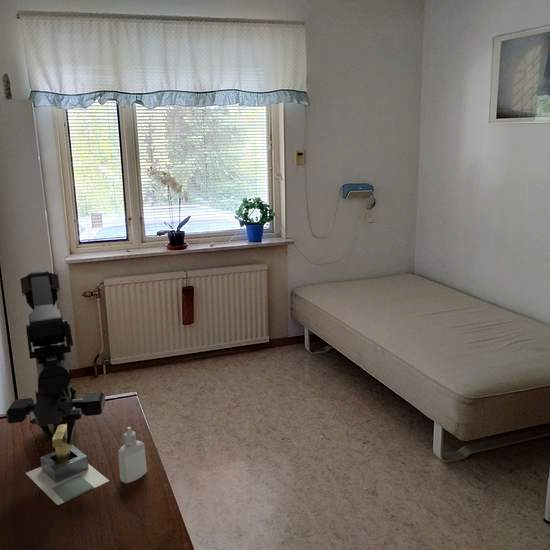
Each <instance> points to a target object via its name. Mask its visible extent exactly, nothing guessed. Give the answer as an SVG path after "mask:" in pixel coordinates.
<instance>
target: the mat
mask: <svg viewBox="0 0 550 550" xmlns="http://www.w3.org/2000/svg"><path fill="white" fill-rule="evenodd" d="M93 488H94V487H93V486H92V485H91V484H90V483H89V482H87V481H86V480H85V479H84V478H83V477H82V476H77V477H75V478H73V479H71V480H68V481H66V482H64V483H62V484H59V485H57V486H55V487H53V488H52V489H53V490H54V491H55V492H56V493H57V494H58V495H59V496H60V497H61V498H62V499H63V500H64V501H66V502H68V501H70V500H72V499H74V498H76V496H77V497H79V496H81V495H83V494H86V493H88V492H90V491H91V490H94V489H95V488H94V489H93ZM82 493H83V494H82ZM80 494H81V495H80ZM78 495H79V496H78Z"/></svg>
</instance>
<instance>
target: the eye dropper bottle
mask: <svg viewBox="0 0 550 550" xmlns="http://www.w3.org/2000/svg"><path fill="white" fill-rule="evenodd" d="M123 442H124V444H122V445H121V447H120V448H119V449H118V452H117V459H118V460H117V461H118V471H119V480H120V481H121V482H122V483H124V484H129V483H131V482H134V481H137V480H139V479H140V478H142V477H143V476H144V475H146V473H148V469H147V468H148V467H147V457H146V449H145V443H144V442H143V441H141V440H138V439H137V432H136V431H135V430H132V427H131V426H128V427H127V429H126V431H125V433H123Z"/></svg>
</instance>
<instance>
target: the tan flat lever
mask: <svg viewBox="0 0 550 550" xmlns="http://www.w3.org/2000/svg"><path fill="white" fill-rule="evenodd" d="M52 444H53V445H52ZM52 444H51V445H52V448H54V449H55V451H56V458H57V465H59V464H61V463H64V462H66V461H69V460H71V455H70V447H69V446H70V444H68V441H67V424H62V425H58V427H57V430H56V432H55V434H54V436H53V438H52Z"/></svg>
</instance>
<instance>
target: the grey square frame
mask: <svg viewBox="0 0 550 550" xmlns="http://www.w3.org/2000/svg"><path fill="white" fill-rule="evenodd" d="M69 447H70V455H71V460H69V461H66V462H64V463H61V464H59V465H57V458H56V450H55V451H52V452H50V453H48V454H44V455H42V456H41V457H39V459H40V467H41V468H42V471H43V472H44V473H46V474H47V475H48V476H49V477H50V478H51V479H52V480H53V481H54V482H55V483H58V482H60V481H62V480H65V479H67V478H69V477H71V476H74V475H76V474H78V473H81V472H83V471H85V470H87V469H89V467H88V464H89V461H88V455H86V454H85V453H84V452H83V451H81V450H80V449H78V448H77V447H76V446H75V445H73V444H69Z"/></svg>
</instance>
